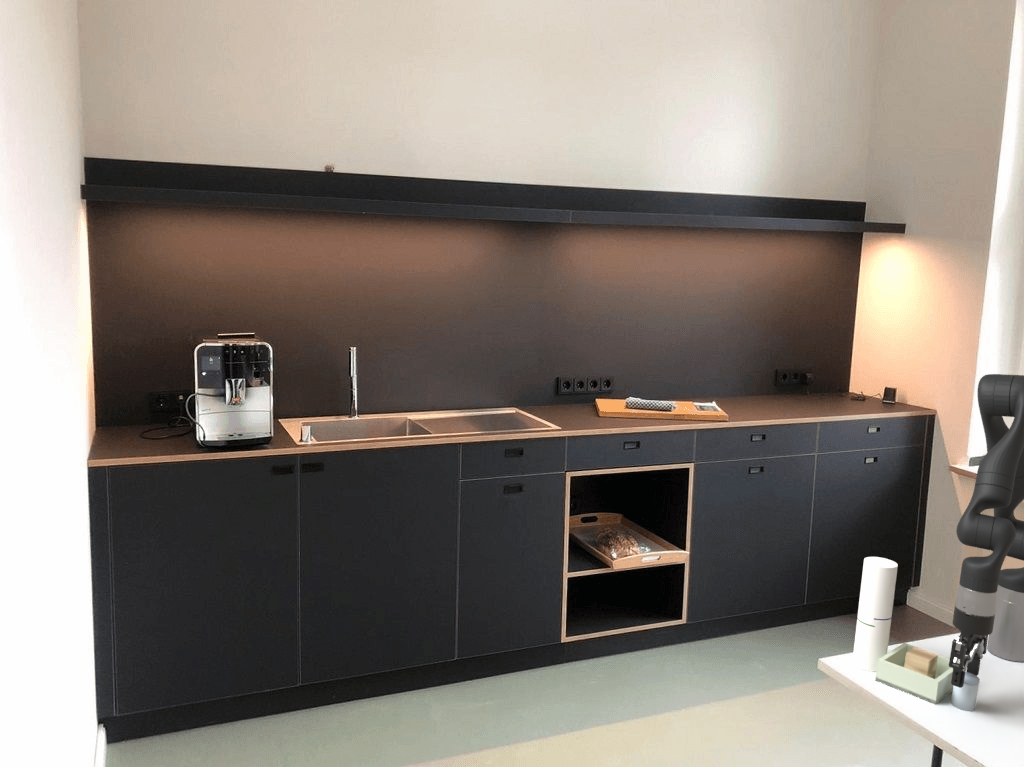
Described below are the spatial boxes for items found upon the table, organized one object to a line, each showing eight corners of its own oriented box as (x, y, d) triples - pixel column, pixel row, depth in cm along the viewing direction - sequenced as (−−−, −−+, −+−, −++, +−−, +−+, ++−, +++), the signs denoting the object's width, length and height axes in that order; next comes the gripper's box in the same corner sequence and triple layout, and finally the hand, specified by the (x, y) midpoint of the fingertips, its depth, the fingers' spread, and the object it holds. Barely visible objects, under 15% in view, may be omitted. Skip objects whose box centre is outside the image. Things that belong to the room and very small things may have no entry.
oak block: (912, 671, 195) (915, 646, 194) (934, 680, 191) (937, 654, 190) (902, 678, 191) (905, 652, 190) (925, 686, 188) (929, 661, 187)
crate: (901, 662, 201) (904, 642, 200) (960, 684, 191) (962, 663, 191) (875, 680, 191) (877, 659, 190) (935, 704, 182) (938, 682, 181)
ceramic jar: (955, 697, 185) (959, 669, 184) (979, 706, 182) (983, 677, 181) (946, 704, 182) (950, 675, 181) (970, 713, 179) (974, 684, 178)
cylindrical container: (888, 673, 195) (901, 569, 191) (855, 669, 196) (867, 565, 192) (881, 659, 202) (893, 558, 198) (849, 655, 203) (861, 555, 199)
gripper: (968, 594, 186) (958, 664, 189) (943, 609, 177) (932, 682, 179) (1006, 606, 181) (995, 677, 183) (981, 621, 171) (970, 697, 174)
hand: (964, 680), depth 181 cm, fingers open, 8 cm apart
